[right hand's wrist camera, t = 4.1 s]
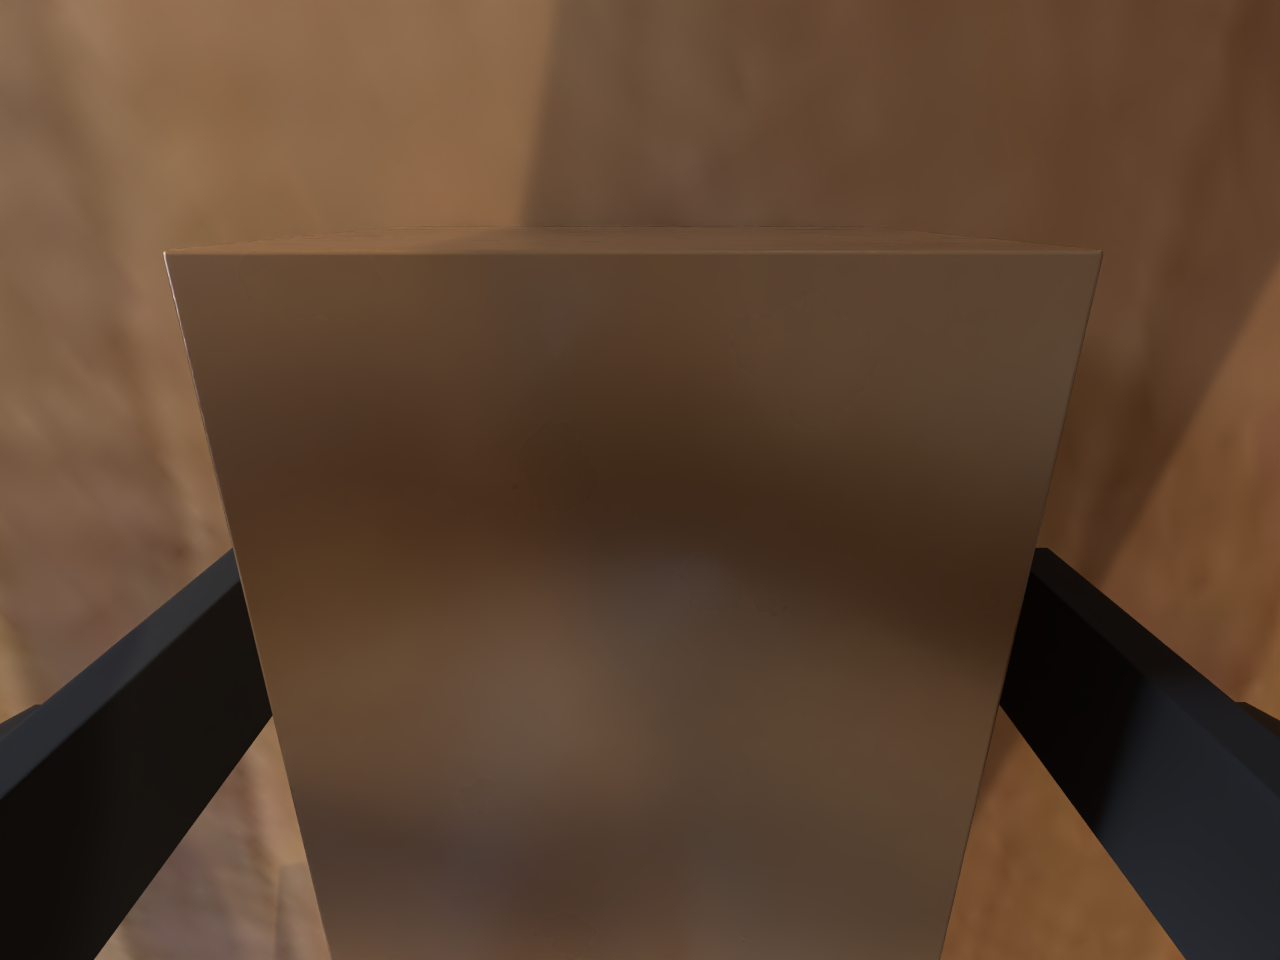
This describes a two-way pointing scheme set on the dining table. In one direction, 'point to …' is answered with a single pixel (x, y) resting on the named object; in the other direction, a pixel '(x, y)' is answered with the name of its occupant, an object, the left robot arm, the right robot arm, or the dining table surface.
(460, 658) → the thick board
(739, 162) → the dining table surface
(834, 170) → the dining table surface
